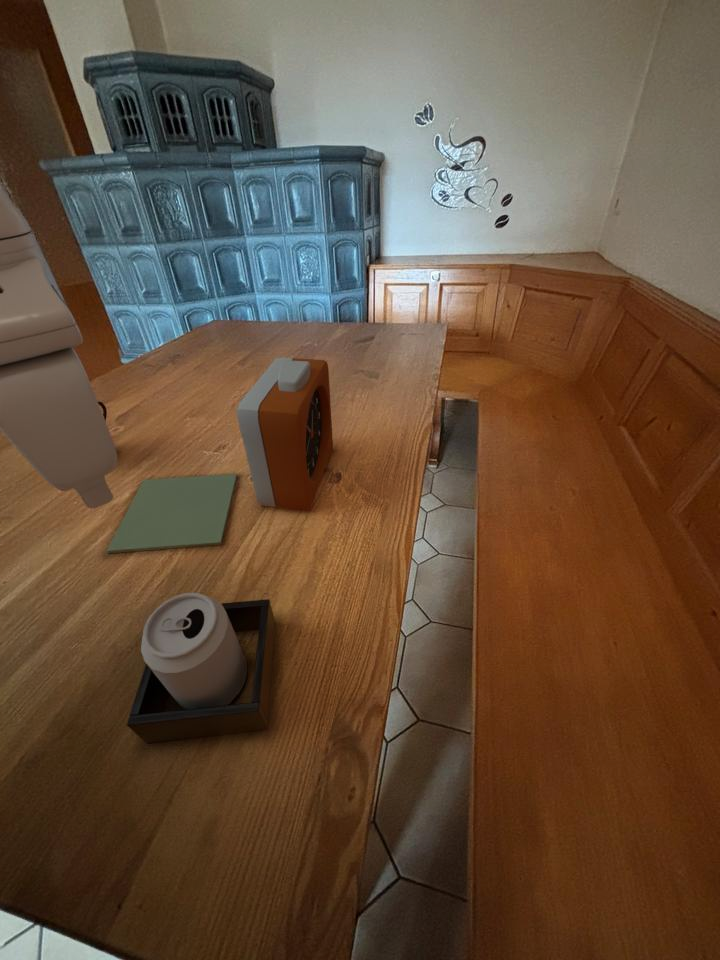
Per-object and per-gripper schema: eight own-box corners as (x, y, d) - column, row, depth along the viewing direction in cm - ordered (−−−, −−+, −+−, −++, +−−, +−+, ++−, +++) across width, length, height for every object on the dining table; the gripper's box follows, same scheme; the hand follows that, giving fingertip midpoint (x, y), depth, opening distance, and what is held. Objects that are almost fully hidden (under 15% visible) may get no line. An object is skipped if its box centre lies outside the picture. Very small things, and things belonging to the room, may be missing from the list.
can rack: (146, 743, 37) (125, 725, 34) (178, 631, 46) (164, 608, 43) (267, 730, 38) (258, 710, 35) (275, 622, 47) (269, 598, 44)
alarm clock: (309, 514, 61) (295, 397, 48) (257, 508, 62) (228, 392, 49) (334, 448, 75) (328, 343, 62) (290, 444, 76) (275, 340, 63)
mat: (107, 553, 55) (106, 550, 55) (144, 482, 67) (143, 479, 67) (221, 544, 56) (220, 542, 56) (237, 476, 68) (236, 473, 68)
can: (246, 711, 39) (218, 655, 31) (170, 724, 38) (121, 671, 31) (250, 641, 45) (227, 580, 37) (184, 651, 44) (146, 591, 36)
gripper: (-109, 275, 27) (8, 439, 36) (-86, 354, 16) (75, 563, 25) (0, 262, 30) (82, 415, 39) (81, 319, 19) (170, 514, 28)
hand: (80, 473), depth 32 cm, fingers open, 8 cm apart
